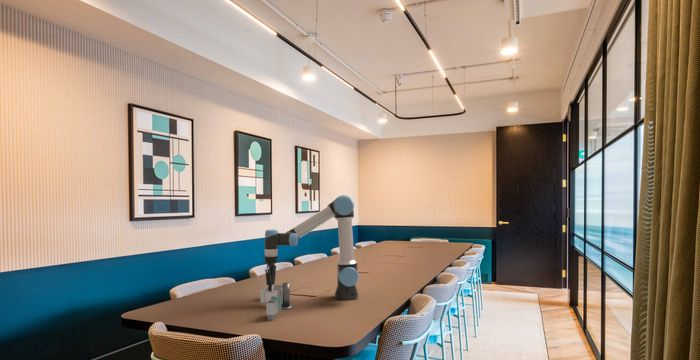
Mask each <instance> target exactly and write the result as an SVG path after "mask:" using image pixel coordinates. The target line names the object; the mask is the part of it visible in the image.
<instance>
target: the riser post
mask: <svg viewBox="0 0 700 360" xmlns="http://www.w3.org/2000/svg"><path fill="white" fill-rule="evenodd" d="M290 284H291V283H290V282H288V281H287V282H286V281H285V282H282V285H283V305H282V306H281V310H291V309H293V308H294V305H293V304H290V303H291V301H290V300H291V299H290V298H291V297H290V295H291V285H290Z"/></svg>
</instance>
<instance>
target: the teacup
mask: <svg viewBox="0 0 700 360" xmlns="http://www.w3.org/2000/svg"><path fill="white" fill-rule="evenodd" d="M262 289H268V286H264V287H263V288H262ZM279 289H283V284H273V290H275V291H278V290H279Z"/></svg>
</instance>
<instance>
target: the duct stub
mask: <svg viewBox="0 0 700 360" xmlns="http://www.w3.org/2000/svg"><path fill="white" fill-rule="evenodd" d="M265 304H266V305H265V308H266V309H265V310H266V313H265V315H266V316H267V321H272V322H273V321H275V320H276V314H277V313H278V312H281V311H282V309H281V297H271V300H270V301H268V302H265Z"/></svg>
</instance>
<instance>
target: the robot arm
mask: <svg viewBox="0 0 700 360" xmlns="http://www.w3.org/2000/svg"><path fill="white" fill-rule="evenodd" d="M354 208H355V202H354V200H353V198H351V197H350V196H348V195H344V194H343V195H340V196H337V197H336V198H335V199H334V200H332V201H331V202H330V203H329V204H327V207H325V208H324V209H322V210H320V211H318V212H317V213H316V214H314V215H313V216H311V217H309V218H307V219H305V220H304V221H302V222H300V223H299V224H298V225H296V226H294V227H293V228H291V229H289V230H287V231H286V232H285V233H284V232H282V233H281V232H279V231H278V229H266V231H265V230H264V231H265V232H264V250H263V251H264V252H263V253H264V263H265V264H266V268H265V269H264V272H265V280H266V286H267V288H268V290H273V285H276V283H275V282H276V273H277V266H276V264H277V263H278V252H279V251H278V250H279V249H278V248H279V247H284V246H285V247H286V246H287V247H288V246H289V247H294V246H298V243H299V239H300V238H302V237H303V236H306V235H308V233H310V232H312V231H314V230H315V229H316V228H318V227H320V226H321V225H323V224H325V223H326V222H328V221H330V220H331V219H333V218H334V219H335V220H336V221H337V230H338V231H337V232H338V246H339V247H338V248H339V260H338V261H337V265H336V266H337V268H336V269H337V272H336V274H337V279H336V280H337V285H336V289H335V291H334V299H337V300H341V301H352V300H356V299H359V292H358V289H357V285H356V284H357V282H358V281H359V279H360V276H359V271H358V270H359V269H358V262H357V260H356V259H355V252H354V251H355V249H354V235H353V219H354V217H355V213H354V212H355V211H354Z"/></svg>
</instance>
